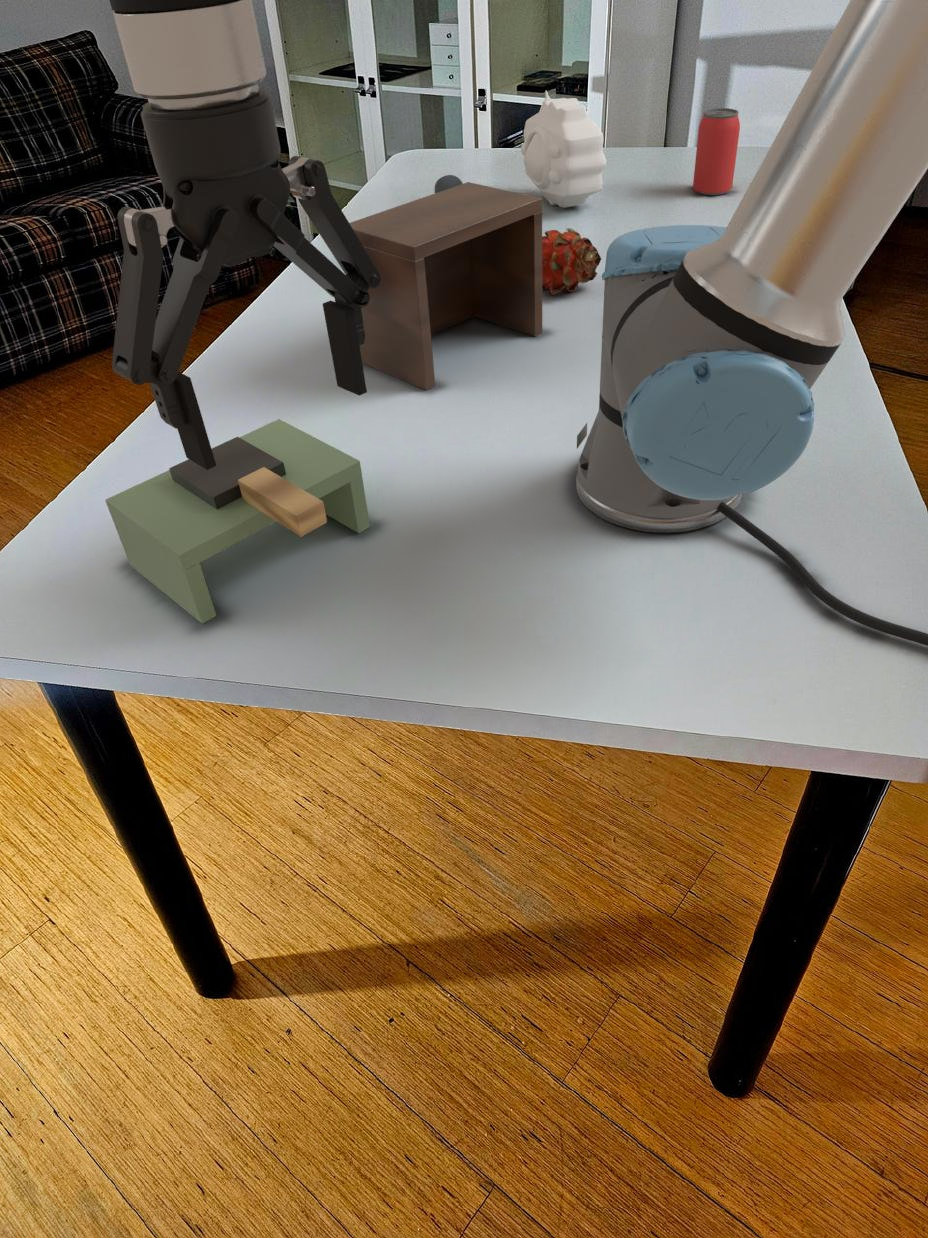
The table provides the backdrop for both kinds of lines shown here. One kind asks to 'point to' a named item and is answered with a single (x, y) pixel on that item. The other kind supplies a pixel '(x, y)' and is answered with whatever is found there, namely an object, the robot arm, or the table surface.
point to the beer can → (716, 151)
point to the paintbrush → (447, 183)
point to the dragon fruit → (567, 260)
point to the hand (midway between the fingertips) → (280, 423)
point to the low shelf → (226, 514)
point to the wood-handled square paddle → (252, 485)
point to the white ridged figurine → (563, 152)
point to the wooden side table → (449, 272)
